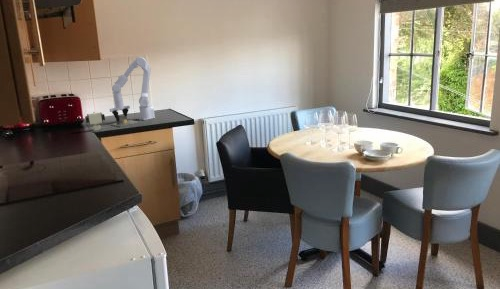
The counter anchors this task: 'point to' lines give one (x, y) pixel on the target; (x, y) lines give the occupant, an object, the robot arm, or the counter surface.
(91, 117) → the pneumatic valve
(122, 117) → the knob
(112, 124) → the mount plate
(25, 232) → the counter surface
